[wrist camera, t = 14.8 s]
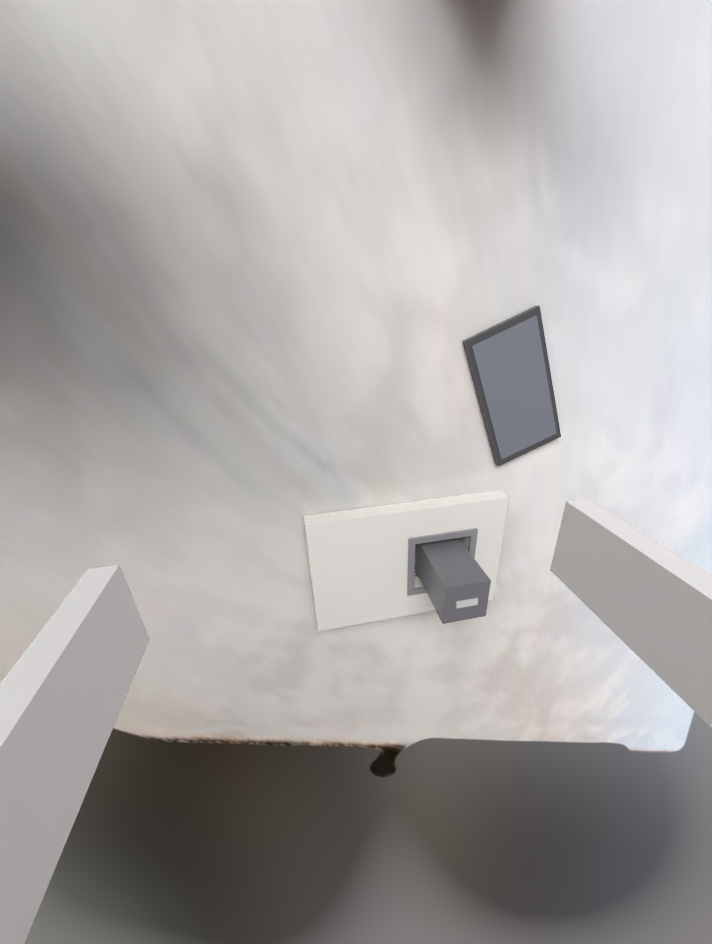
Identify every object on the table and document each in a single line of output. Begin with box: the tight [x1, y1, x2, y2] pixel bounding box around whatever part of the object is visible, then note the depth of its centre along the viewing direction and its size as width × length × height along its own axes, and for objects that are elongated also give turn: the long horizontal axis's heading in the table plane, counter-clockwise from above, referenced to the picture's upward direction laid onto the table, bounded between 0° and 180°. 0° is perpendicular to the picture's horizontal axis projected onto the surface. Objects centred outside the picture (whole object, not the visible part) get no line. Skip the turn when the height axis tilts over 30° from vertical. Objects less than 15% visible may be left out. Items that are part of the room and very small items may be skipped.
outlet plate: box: [304, 490, 509, 632], centre depth 44 cm, size 24×16×2 cm, turn 92°
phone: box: [463, 306, 561, 466], centre depth 39 cm, size 8×15×1 cm, turn 23°
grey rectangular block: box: [415, 538, 491, 624], centre depth 42 cm, size 5×5×9 cm
